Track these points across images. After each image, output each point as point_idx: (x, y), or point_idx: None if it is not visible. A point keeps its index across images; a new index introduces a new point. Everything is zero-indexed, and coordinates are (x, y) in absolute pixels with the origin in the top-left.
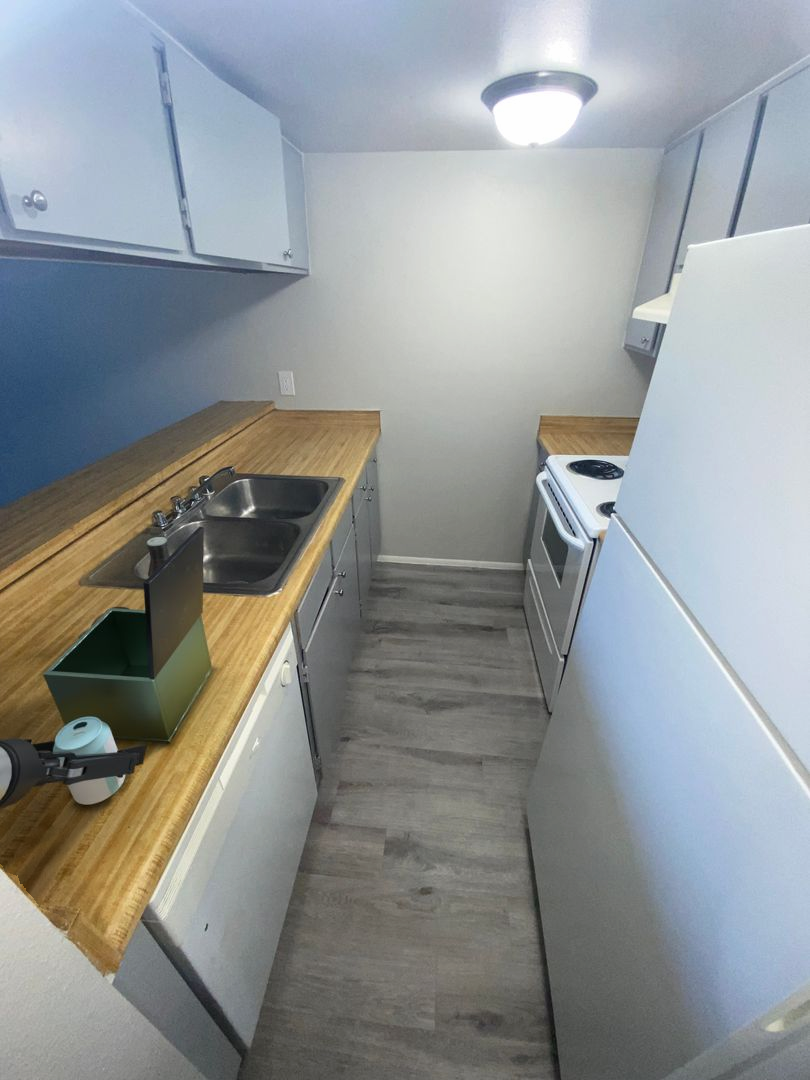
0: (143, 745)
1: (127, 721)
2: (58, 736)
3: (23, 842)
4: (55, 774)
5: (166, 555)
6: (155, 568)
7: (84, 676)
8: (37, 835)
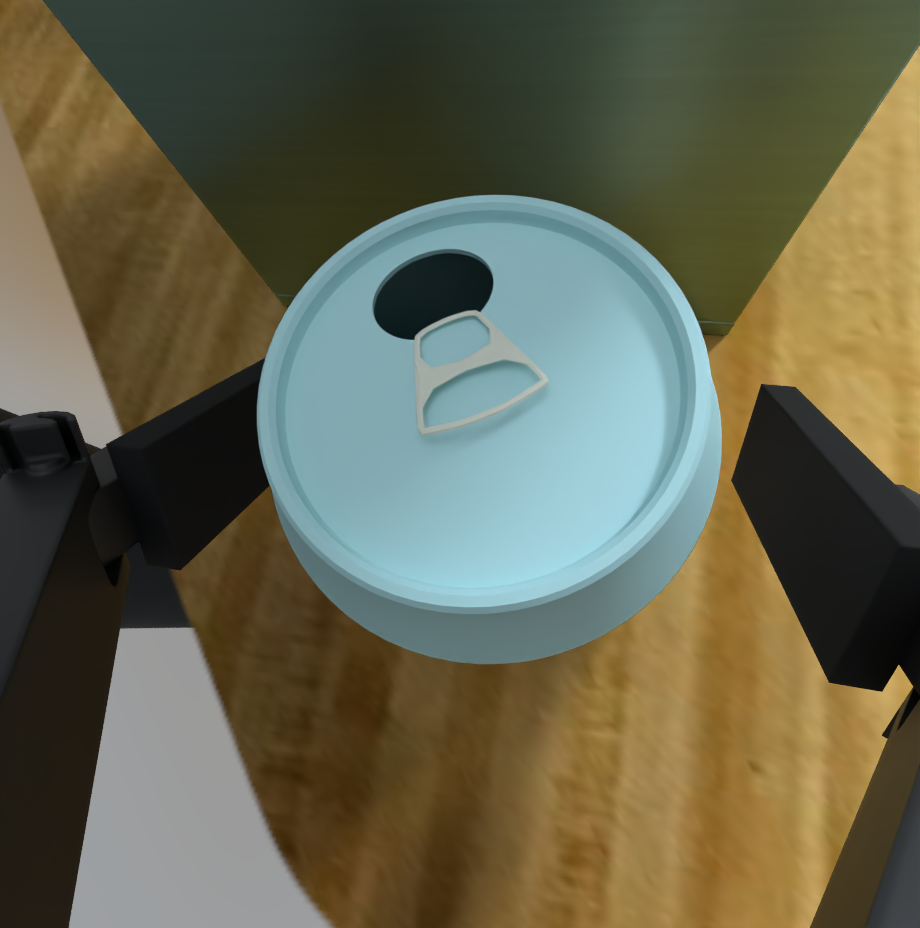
0: (797, 396)
1: None
2: (279, 417)
3: (306, 787)
4: None
5: None
6: None
7: None
8: (349, 759)
